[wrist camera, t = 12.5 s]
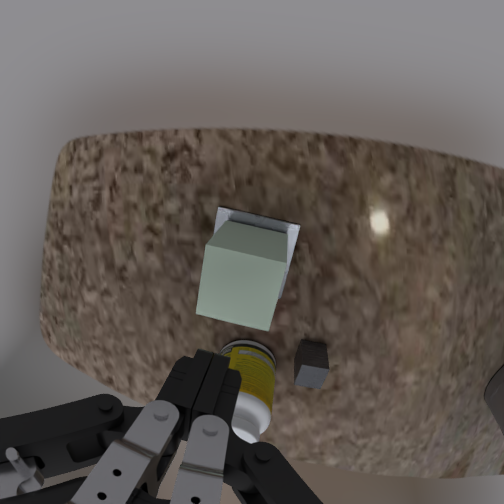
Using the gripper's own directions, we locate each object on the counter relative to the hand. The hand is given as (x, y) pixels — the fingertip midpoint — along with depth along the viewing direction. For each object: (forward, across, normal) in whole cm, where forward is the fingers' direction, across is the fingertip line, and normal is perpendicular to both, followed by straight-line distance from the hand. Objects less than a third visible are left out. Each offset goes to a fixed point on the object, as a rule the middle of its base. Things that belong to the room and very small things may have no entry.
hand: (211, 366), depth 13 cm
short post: (+15, -8, +9) cm, 19 cm away
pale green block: (+14, 0, 0) cm, 14 cm away
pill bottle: (+16, -2, +12) cm, 19 cm away
